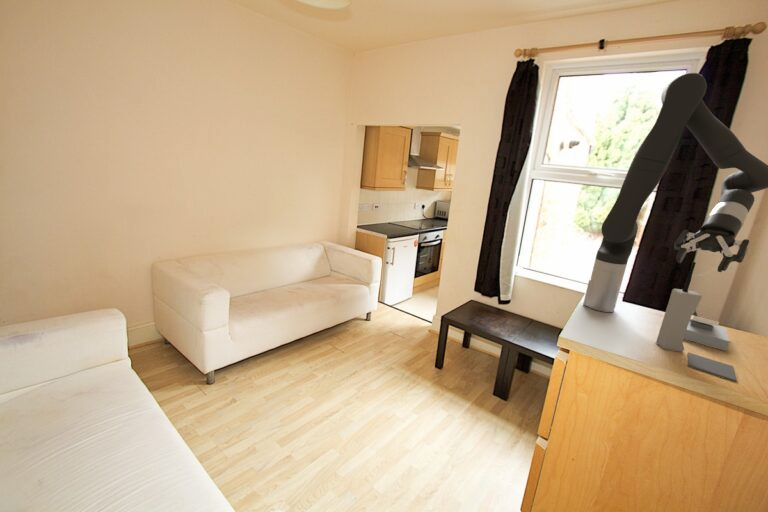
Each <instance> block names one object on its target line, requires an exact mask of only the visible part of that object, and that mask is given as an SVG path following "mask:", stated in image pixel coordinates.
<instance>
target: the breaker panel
mask: <svg viewBox="0 0 768 512" xmlns="http://www.w3.org/2000/svg"><path fill="white" fill-rule="evenodd" d="M683 340H687V341H690V342H694V343H697V344H701V345H704V346H708V347H711V348H714V349H717V348H718V350H721V351H723V352H726V351H727V349H728V347H729V344H730V338H729V336H728V332H727V329H726V327H724V326H720V325H718V326H716V325H711V324H707V323H704V322H700V321H696V320H692V319H690V321H689V324H688V327H687V330H686V333H685V336H684V339H683Z"/></svg>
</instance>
